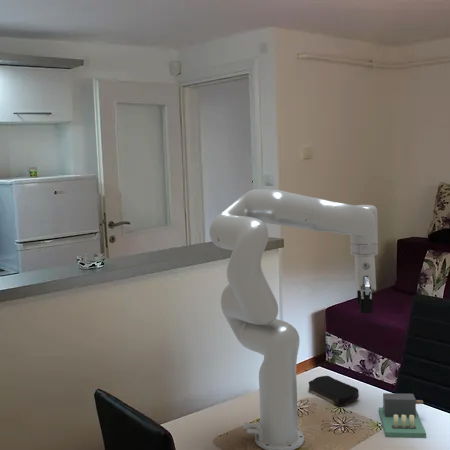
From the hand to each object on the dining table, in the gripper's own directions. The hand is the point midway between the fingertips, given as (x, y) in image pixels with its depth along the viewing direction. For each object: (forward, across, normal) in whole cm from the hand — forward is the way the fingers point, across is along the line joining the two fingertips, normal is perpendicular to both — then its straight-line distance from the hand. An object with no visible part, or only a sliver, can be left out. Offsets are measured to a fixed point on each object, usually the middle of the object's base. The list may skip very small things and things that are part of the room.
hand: (364, 308), depth 171 cm
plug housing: (+27, -9, -9) cm, 30 cm away
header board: (+28, -13, -8) cm, 32 cm away
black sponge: (+29, +5, +9) cm, 31 cm away
